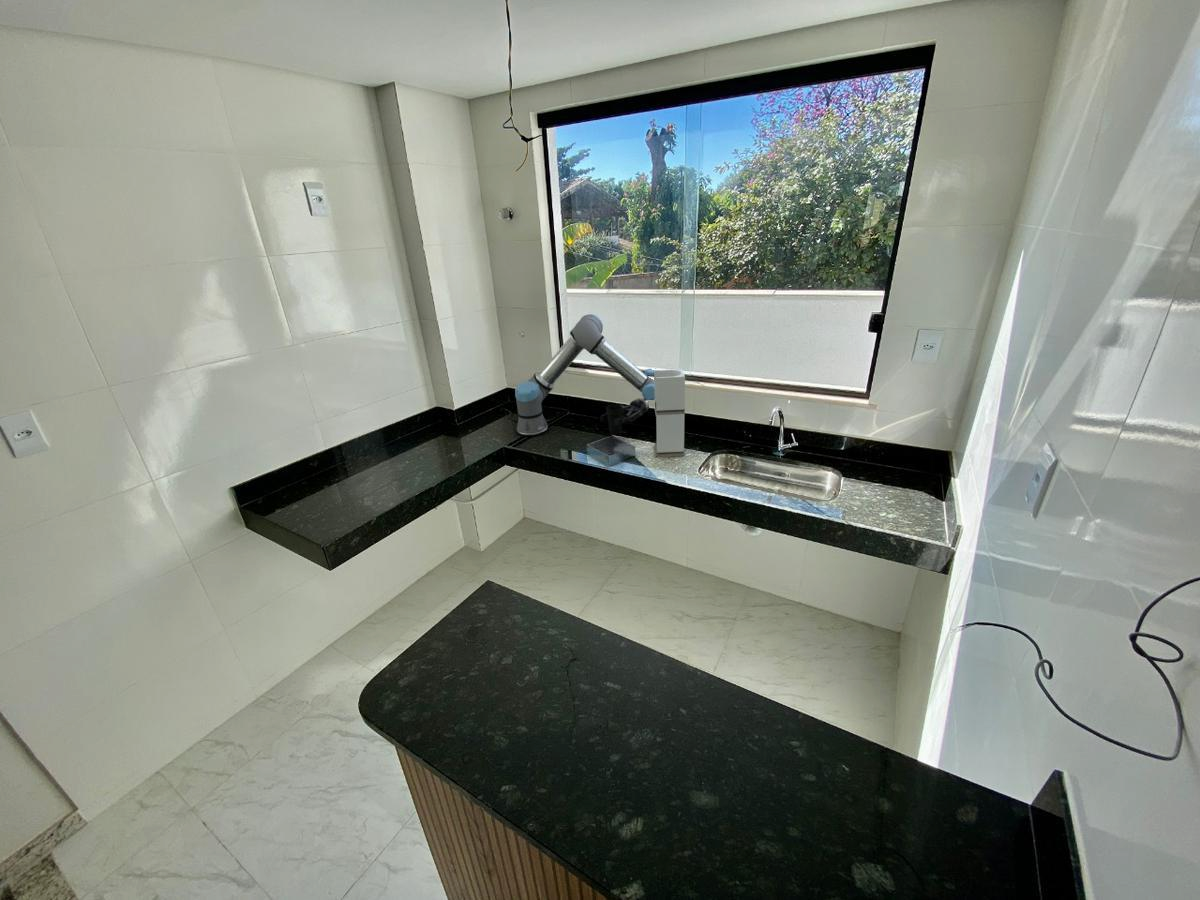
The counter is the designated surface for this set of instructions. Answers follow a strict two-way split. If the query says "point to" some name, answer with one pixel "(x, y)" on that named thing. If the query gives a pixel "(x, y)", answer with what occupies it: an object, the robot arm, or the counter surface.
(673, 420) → the grey square pillar
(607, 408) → the cup
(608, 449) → the translucent shallow box
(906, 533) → the counter surface
